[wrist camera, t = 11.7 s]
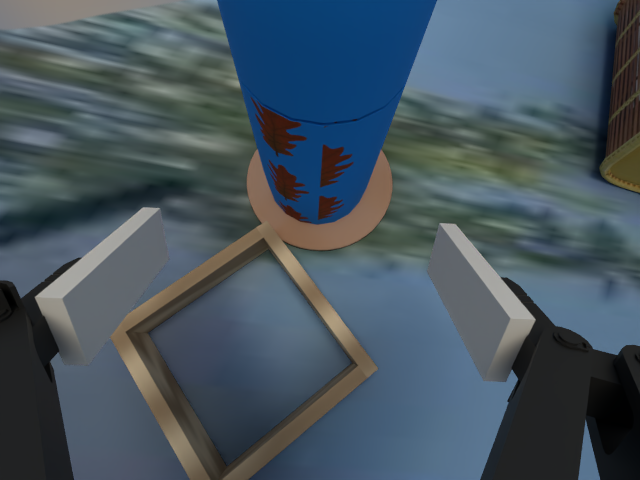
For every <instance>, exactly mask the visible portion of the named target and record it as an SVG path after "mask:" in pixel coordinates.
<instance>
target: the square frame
mask: <svg viewBox="0 0 640 480" xmlns="http://www.w3.org/2000/svg"><path fill="white" fill-rule="evenodd" d="M268 249H269V250H270V252H271V253H272V254H273V256H274V257H275V258H276V260H277V261H278V262H279V264H280V265H281V266H282V268H283V269H284V271H285V272H286V273H287V275H288V276H289V277H290V279H291V280H292V281H293V283H294V284H295V285H296V287H297V288H298V290H299V291H300V292H301V294H302V295H303V296H304V298H305V299H306V300H307V302H308V303H309V305H310V306H311V307H312V309H313V310H314V311H315V313H316V314H317V315H318V317H319V318H320V319H321V321H322V322H323V324H324V325H325V326H326V328H327V329H328V330H329V332H330V333H331V334H332V336H333V337H334V338H335V340H336V341H337V343H338V344H339V345H340V347H341V348H342V349H343V351H344V352H345V353H346V355H347V356H348V358H349V359H350V360H351V362H352V363H351V364H350V365H349V366H348V367H347V368H345V369H344V370H343V371H342V372H341V373H339V374H338V375H337V376H336V377H334V378H333V379H332V380H331V381H330V382H328V383H327V384H326V385H325V386H324V387H322V388H321V389H320V390H319V391H318V392H316V393H315V394H314V395H313V396H312V397H310V398H309V399H308V400H307V401H306V402H304V403H303V404H302V405H301V406H299V407H298V408H297V409H296V410H295V411H293V412H292V413H291V414H290V415H289V416H287V417H286V418H285V419H284V420H283V421H281V422H280V423H279V424H278V425H277V426H275V427H274V428H273V429H272V430H271V431H269V432H268V433H267V434H266V435H265V436H263V437H262V438H261V439H260V440H258V441H257V442H256V443H255V444H254V445H252V446H251V447H250V448H249V449H248V450H246V451H245V452H244V453H243V454H242V455H240V456H239V457H238V458H237V459H236V460H234V461H233V462H232V463H231V464H230V465H228V466H226V464H225V463H224V461H223V459H222V458H221V456H220V454H219V453H218V451H217V449H216V447H215V446H214V444H213V442H212V441H211V439H210V437H209V436H208V434H207V432H206V431H205V429H204V427H203V426H202V424H201V422H200V421H199V419H198V417H197V415H196V414H195V412H194V410H193V409H192V407H191V405H190V404H189V402H188V400H187V399H186V397H185V395H184V394H183V392H182V390H181V388H180V387H179V385H178V383H177V382H176V380H175V378H174V377H173V375H172V373H171V372H170V370H169V368H168V367H167V365H166V363H165V361H164V360H163V358H162V356H161V355H160V353H159V351H158V350H157V348H156V346H155V345H154V343H153V341H152V340H151V338H150V336H149V334H148V332H150V331H151V330H153V329H154V328H155V327H157V326H158V325H160V324H161V323H163V322H164V321H166V320H167V319H168V318H170V317H171V316H173V315H174V314H176V313H177V312H178V311H180V310H181V309H183V308H184V307H186V306H187V305H189V304H190V303H191V302H193V301H194V300H196V299H197V298H199V297H200V296H202V295H203V294H204V293H206V292H207V291H209V290H210V289H212V288H213V287H214V286H216V285H217V284H219V283H220V282H222V281H223V280H225V279H226V278H227V277H229V276H230V275H232V274H233V273H235V272H236V271H238V270H239V269H240V268H242V267H243V266H245V265H246V264H248V263H249V262H250V261H252V260H253V259H255V258H256V257H258V256H259V255H261V254H262V253H263V252H265V251H266V250H268ZM110 338H111V340H112V341H113V343H114V345H115V347H116V348H117V350H118V352H119V354H120V356H121V357H122V359H123V361H124V363H125V364H126V366H127V368H128V370H129V372H130V373H131V375H132V377H133V379H134V380H135V382H136V384H137V386H138V388H139V389H140V391H141V393H142V395H143V397H144V398H145V400H146V402H147V404H148V405H149V407H150V409H151V411H152V413H153V414H154V416H155V418H156V420H157V421H158V423H159V425H160V427H161V429H162V430H163V432H164V434H165V436H166V437H167V439H168V441H169V443H170V445H171V446H172V448H173V450H174V452H175V453H176V455H177V457H178V459H179V461H180V462H181V464H182V466H183V468H184V469H185V471H186V473H187V475H188V477H189V478H190V480H248V479H249V478H251V477H252V476H253V475H254V474H255V473H256V472H258V471H259V470H260V469H261V468H262V467H263V466H265V465H266V464H267V463H268V462H269V461H271V460H272V459H273V458H274V457H275V456H276V455H278V454H279V453H280V452H281V451H282V450H283V449H285V448H286V447H287V446H288V445H289V444H291V443H292V442H293V441H294V440H295V439H296V438H298V437H299V436H300V435H301V434H302V433H303V432H305V431H306V430H307V429H308V428H309V427H311V426H312V425H313V424H314V423H315V422H316V421H318V420H319V419H320V418H321V417H322V416H323V415H325V414H326V413H327V412H328V411H329V410H330V409H332V408H333V407H334V406H335V405H336V404H338V403H339V402H340V401H341V400H342V399H343V398H345V397H346V396H347V395H348V394H349V393H350V392H352V391H353V390H354V389H355V388H356V387H358V386H359V385H360V384H361V383H362V382H363V381H365V380H366V379H367V378H368V377H369V376H370V375H372V374H373V373H374V372H375V371H376V370H377V369H378V367H377V366H376V365H375V363H374V362H373V361H372V359H371V358H370V357H369V355H368V354H367V353H366V351H365V350H364V349H363V347H362V346H361V345H360V343H359V342H358V341H357V340H356V338H355V337H354V336H353V334H352V333H351V332H350V330H349V329H348V328H347V326H346V325H345V324H344V322H343V321H342V320H341V318H340V317H339V316H338V314H337V313H336V312H335V310H334V309H333V308H332V306H331V305H330V304H329V302H328V301H327V300H326V298H325V297H324V296H323V294H322V293H321V292H320V290H319V289H318V288H317V286H316V285H315V284H314V282H313V281H312V280H311V278H310V277H309V276H308V274H307V273H306V272H305V270H304V269H303V268H302V266H301V265H300V264H299V262H298V261H297V260H296V258H295V257H294V256H293V254H292V253H291V252H290V250H289V249H288V248H287V247H286V245H285V244H284V243H283V241H282V240H281V239H280V237H279V236H278V235H277V233H276V232H275V231H274V229H273V228H272V227H271V225H270V224H269V223H268V221H265V222H264V223H262V224H261V225H259V226H258V227H256V228H255V229H253V230H252V231H251V232H249V233H248V234H246V235H245V236H243V237H242V238H240V239H239V240H237V241H236V242H234V243H233V244H231V245H230V246H228V247H227V248H225V249H224V250H222V251H221V252H219V253H218V254H216V255H215V256H213V257H212V258H210V259H209V260H207V261H206V262H204V263H203V264H201V265H200V266H198V267H197V268H196V269H194V270H193V271H191V272H190V273H188V274H187V275H185V276H184V277H182V278H181V279H179V280H178V281H176V282H175V283H173V284H172V285H170V286H169V287H167V288H166V289H164V290H163V291H161V292H160V293H158V294H157V295H155V296H154V297H152V298H151V299H149V300H148V301H146V302H145V303H144V304H142V305H141V306H139V307H138V308H136V309H135V310H133V311H132V312H130V313H129V314H127V315H126V317H125V318H124V319H123V321H122V322H121V323H120V325H119V326H118V327H117V329H116V330H115V331H114V333H113V334H112V335H111V336H110Z"/></svg>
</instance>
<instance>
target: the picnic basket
mask: <svg viewBox="0 0 640 480" xmlns="http://www.w3.org/2000/svg"><path fill="white" fill-rule="evenodd" d="M614 21H615V24H616V25H617V33H616V44H615V56H614V67H613V78H612V90H611V101H610V112H609V124H608V135H607V146H606V158H605V159H604V161H603V162H602V164H601V165H600V167H599V168H600V173H601V175H602V177H603V178H604V179H606V180H607V181H608V182H609V183H612V184H614V185H616V186H619V187H622V188H625V189H628V190H631V191H635V192H638V193H640V0H620V1H619V2H618V4H617V6H616V9H615V11H614Z"/></svg>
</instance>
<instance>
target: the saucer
mask: <svg viewBox="0 0 640 480" xmlns="http://www.w3.org/2000/svg"><path fill="white" fill-rule="evenodd" d="M247 190H248V196H249V200H250V203H251V206H252V208H253V210H254V212H255V214H256V216H257V217H258V219H259V221H260V222H261V223H264V222H265V221H268V223H269V224H270V225H271V227H272V228H273V229H274V231H275V232H276V233H277V235H278V236H279V237H280V239H281V240H282V241H283V242H285V243H287V244H289V245H292V246H295V247H298V248H301V249H306V250H313V251H329V250H335V249H340V248H343V247H346V246H349V245H351V244H354V243H356V242H358V241H359V240H361V239H362V238H364V237H365V236H367V235H368V234H369V233H370V232H371V231H372V230H373V229H374V228H375V227H376V226H377V225H378V224H379V222H380V221H381V219H382V218H383V216H384V215H385V212H386V210H387V208H388V206H389V203H390V200H391V195H392V174H391V170H390V166H389V163H388V161H387V159H386V156H385V155H384V153H383V151H382V150H381V151H380V154H379V156H378V159H377V162H376V164H375V167H374V170H373V172H372V175H371V178H370V180H369V183H368V186H367V188H366V190H365V192H364V194H363V196H362V198H361V200H360V202H359V203H358V204H357V205H356V207H355V208H354V209H353V210H352V211H351V212H350V213H349V214H348V215H346V216H345V217H343V218H341V219H339V220H337V221H335V222H332V223H325V224H319V225H316V224H310V223H304V222H300V221H298V220H296V219H294V218H293V217H291V216H289V215H287V214H286V213H285V212H284V211H283V210H282V209H281V208H280V207H279V205H278V204H277V203H276V202H275V200H274V197H273V195H272V192H271V190H270V187H269V185H268V182H267V179H266V176H265V173H264V170H263V167H262V163H261V160H260V156H259V152H258V149H257V150H256V152H255V153H254V155H253V157H252V160H251V162H250V165H249V169H248V175H247Z"/></svg>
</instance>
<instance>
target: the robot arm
mask: <svg viewBox="0 0 640 480" xmlns="http://www.w3.org/2000/svg"><path fill="white" fill-rule="evenodd" d="M168 260H169V254H168V248H167V243H166V237H165V232H164V227H163V221H162V216H161V210H160V208H144V207H143V208H142V209H141V210H140V211H139V212H137V213H136V214H135V215H134V216H132V217H131V218H130V219H129V220H128V221H126V222H125V223H124V224H123V225H122V226H120V227H119V228H118V229H117V230H116V231H114V232H113V233H112V234H111V235H109V236H108V237H107V238H106V239H105V240H103V241H102V242H101V243H100V244H99V245H97V246H96V247H95V248H94V249H93V250H91V251H90V252H89V253H88V254H86V255H85V256H84V257H83V258H77V259H75V260H73V261H71V262H69V263H66V264H64V265H63V266H62V267H60V268H59V269H58V270H57V271H55V272H54V273H53V275H50V276H49V277H48V278H46V279H45V281H44V282H41V283H40V284H39V285H38V286H36V287H35V288H34V289H33V290H31V291H30V292H29V293H28V294H26V295H25V296H24V297H22V298H20V296H19V294H18V292H17V289H16V287H15V285H14V284H13V283H12V282H9V281H0V480H74V478H73V472H72V467H71V462H70V456H69V451H68V445H67V440H66V435H65V429H64V424H63V418H62V413H61V408H60V402H59V397H58V391H57V386H56V381H55V375H54V370H53V367H52V365H51V363H50V361H51V359H52V358H53V357H54V356H55V355H56V354H57V353H58V352H59V354H60V356H61V358H62V361H63V363H64V365H85V366H88V365H89V364H90V363H91V361H92V360H93V359H94V357H95V356H96V355H97V354H98V352H99V351H100V350H101V348H102V347H103V346H104V344H105V343H106V342H107V340H108V339H109V338H110V336H111V335H112V334H113V333H114V331H115V330H116V329H117V327H118V326H119V325H120V323H121V322H122V321H123V319H124V318H125V317H126V315H127V314H128V313H129V311H130V310H131V309H132V308H133V306H134V305H135V304H136V302H137V301H138V300H139V298H140V297H141V296H142V294H143V293H144V292H145V290H146V289H147V288H148V287H149V285H150V284H151V283H152V281H153V280H154V279H155V277H156V276H157V275H158V273H159V272H160V271H161V269H162V268H163V267H164V265H165V264H166V263H167V262H168ZM427 272H428V274H429V276H430V278H431V280H432V282H433V284H434V286H435V288H436V290H437V292H438V294H439V296H440V298H441V299H442V301H443V303H444V305H445V307H446V309H447V311H448V313H449V315H450V317H451V319H452V321H453V323H454V325H455V327H456V328H457V330H458V332H459V334H460V336H461V338H462V340H463V342H464V344H465V346H466V348H467V350H468V352H469V354H470V356H471V358H472V359H473V361H474V363H475V365H476V367H477V369H478V371H479V373H480V375H481V377H482V379H483V381H497V382H506V380H507V378H508V376H509V374H510V372H511V370H513V371H514V373H515V374H516V376H517V378H518V381H517V383H516V385H515V387H514V389H513V391H512V393H511V395H510V397H509V399H508V401H507V402H509V403H508V406H507V409H506V411H505V414H504V417H503V420H502V422H501V425H500V428H499V430H498V433H497V436H496V438H495V441H494V444H493V447H492V449H491V452H490V455H489V457H488V460H487V463H486V465H485V468H484V471H483V474H482V476H481V479H480V480H578V476H579V468H580V459H581V451H582V443H583V435H584V427H585V419H586V422H587V426H588V430H589V434H590V439H591V443H592V447H593V451H594V455H595V459H596V463H597V468H598V472H599V476H600V480H640V346H636V345H626V346H625V347H623V348H622V349H621V351H620V352H619V354H618V355H614V354H610V353H606V352H602V351H598V350H594V349H593V348H592V346H591V345H590V344H589V342H588V341H587V340H585V339H584V338H583V337H582V336H580V335H579V334H577V333H575V332H573V331H571V330H569V329H565V328H562V327H557V326H555V325H554V324H553V323H552V322H551V321H550V319H549V318H548V317H547V316H546V315H545V314H544V313H543V312H542V311H541V309H540V308H539V307H538V306H537V305H536V304H534V303H533V300H532V299H531V298H530V297H529V296H527V294H526V293H525V292H524V290H523V289H522V288H521V287H520V286H519V285H517V284H516V283H514V282H513V281H511V280H510V279H508V278H503V277H499V275H498V274H497V273H496V272H495V271H494V269H493V268H492V267H491V266H490V265H489V264H488V262H487V261H486V260H485V259H484V258H483V256H482V255H481V254H480V253H479V252H478V250H477V249H476V248H475V247H474V246H473V245H472V243H471V242H470V241H469V240H468V239H467V237H466V236H465V235H464V234H463V233H462V231H461V230H460V229H459V228H458V227H457V226H456V224H444V223H439V227H438V231H437V235H436V239H435V243H434V246H433V250H432V254H431V258H430V262H429V266H428V270H427Z"/></svg>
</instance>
